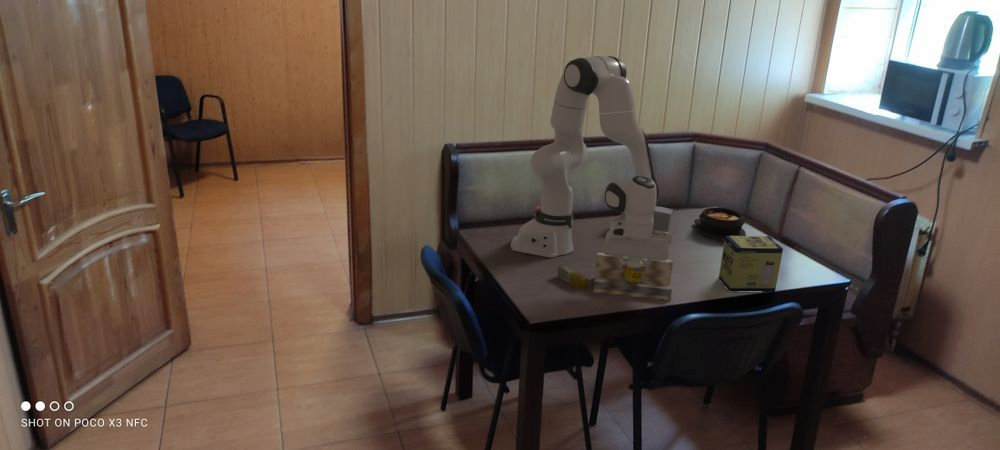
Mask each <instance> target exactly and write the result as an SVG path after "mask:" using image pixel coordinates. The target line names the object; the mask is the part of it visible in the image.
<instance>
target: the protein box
mask: <svg viewBox="0 0 1000 450" xmlns="http://www.w3.org/2000/svg"><path fill="white" fill-rule="evenodd" d="M783 250H784V248H783V247H782V246H781V245H780V244H779V243H778V242H776V241H775V239H774V238H772V237H771V236H769V235H746V236H725V241H723V249H722V253H721V254H722V255H721V262H720V267H719V272H718V273H719V274H718V280H719V281H720V280H721V281H722V282H723V283H722V282H721V281H720V282H721V283H722V285H723V286H724V285H725V286H726V287H727V288H728V289H727V288H726V287H725V286H724V287H725V288H726V289H727V291H728V290H729V291H762V292H761V293H776V289H777V283H778V277H779V273H780V266H781V262H782V255H783ZM729 291H728V292H729Z"/></svg>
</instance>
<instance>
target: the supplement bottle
mask: <svg viewBox="0 0 1000 450" xmlns="http://www.w3.org/2000/svg"><path fill="white" fill-rule="evenodd" d="M642 266H643V263H642V262H641V258H637V257H628V260H627V261H626V266H625V274H624V283H633V284H640V282H641V275H642Z"/></svg>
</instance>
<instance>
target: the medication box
mask: <svg viewBox="0 0 1000 450" xmlns="http://www.w3.org/2000/svg"><path fill="white" fill-rule="evenodd" d="M557 277H558V278H560V279H561V280H563V281H565V282H567V283H569V284H570V285H572V286H573V287H575V288H578V289H579V290H581V291H585V290H587V289H588V284H589V278H588V277H587V276H585V275H584V274H581V273H580V272H579V271H576V270H574V269H573V268H570V267H569V266H567V265H565V264H561V265H559V266H558V268H557Z"/></svg>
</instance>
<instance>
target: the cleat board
mask: <svg viewBox="0 0 1000 450" xmlns="http://www.w3.org/2000/svg"><path fill="white" fill-rule="evenodd" d="M595 260H596V261H595V269H594V279H593V285H592V286H593V287H592V292H593V293H597V294H608V295H616V296H617V295H618V296H625V297H637V298H643V299H644V298H645V299H651V298H655V299H654V300H660V299H664V300H663V301H669V300H672V290H673V288H672V287H671V280H672V271H673V265H674V260H673V259H667V260H666V261H660V260H652V261H651V264H650V265H649V266H648V267H647V272H645V271H642V275H641V282H640V284H633V283H624V274H625V269H621V264H620V262H619V260H618V256H613V255H605V254H604V252H599V251H598V252H596V259H595ZM622 260H623V262H626V261H627V260H628V257H623V259H622ZM641 262H642V263H643V264H646V263H647V259H641Z"/></svg>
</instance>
